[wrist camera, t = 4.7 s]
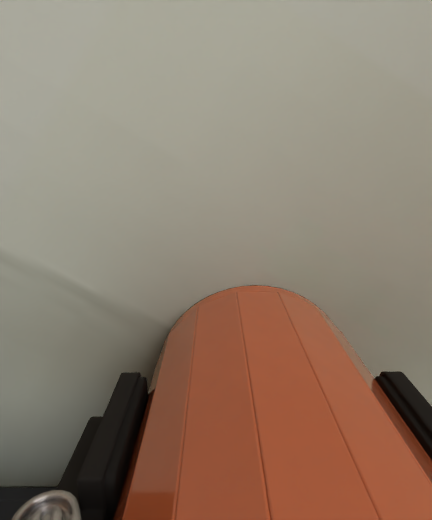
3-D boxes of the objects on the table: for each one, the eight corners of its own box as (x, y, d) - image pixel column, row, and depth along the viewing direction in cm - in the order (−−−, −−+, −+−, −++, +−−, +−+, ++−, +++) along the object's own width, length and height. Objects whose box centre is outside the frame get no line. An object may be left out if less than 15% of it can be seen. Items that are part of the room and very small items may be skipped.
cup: (355, 284, 13) (708, 616, 4) (337, 448, 15) (538, 936, 6) (154, 284, 13) (2, 619, 4) (163, 449, 15) (77, 939, 6)
